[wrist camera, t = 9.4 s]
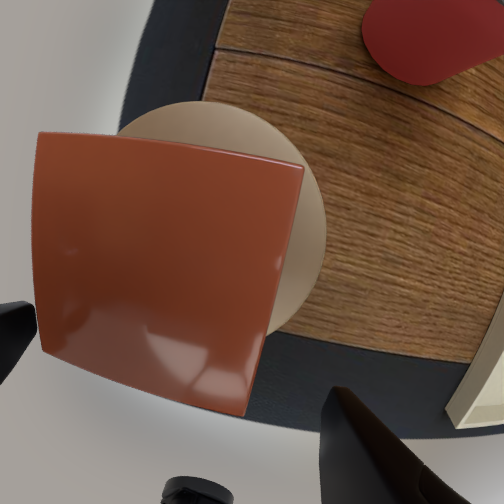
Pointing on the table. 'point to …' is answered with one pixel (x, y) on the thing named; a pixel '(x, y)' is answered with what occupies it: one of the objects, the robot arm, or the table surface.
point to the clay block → (159, 261)
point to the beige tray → (482, 382)
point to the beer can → (433, 36)
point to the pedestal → (262, 144)
